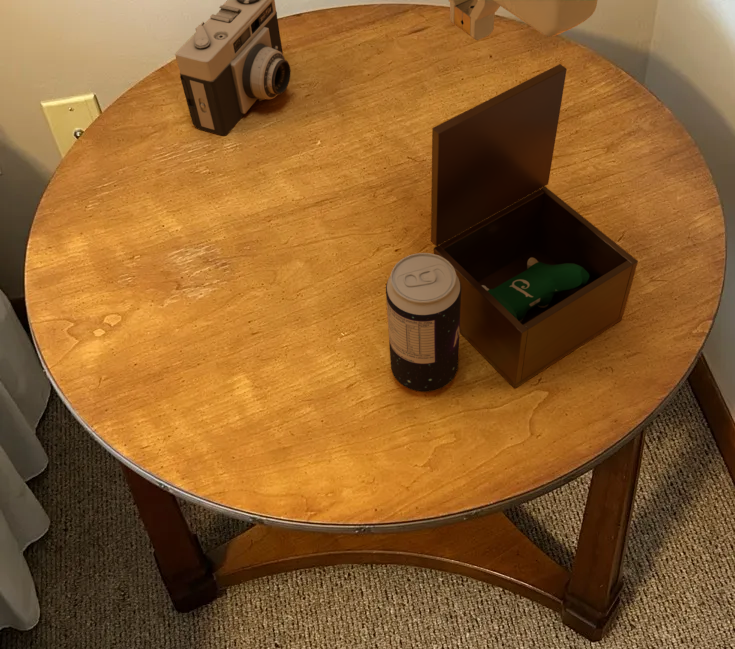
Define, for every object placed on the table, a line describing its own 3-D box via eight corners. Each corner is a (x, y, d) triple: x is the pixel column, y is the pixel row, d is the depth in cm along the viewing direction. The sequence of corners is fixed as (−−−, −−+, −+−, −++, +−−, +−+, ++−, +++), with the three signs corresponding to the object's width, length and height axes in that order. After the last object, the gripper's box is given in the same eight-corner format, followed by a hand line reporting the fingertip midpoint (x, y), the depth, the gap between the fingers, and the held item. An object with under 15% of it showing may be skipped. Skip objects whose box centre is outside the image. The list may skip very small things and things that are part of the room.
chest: (622, 319, 76) (638, 260, 70) (514, 388, 72) (521, 333, 66) (536, 245, 82) (544, 185, 76) (433, 305, 78) (433, 247, 72)
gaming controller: (594, 303, 75) (548, 275, 79) (591, 267, 72) (544, 240, 77) (509, 353, 72) (467, 321, 77) (504, 318, 70) (461, 287, 74)
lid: (567, 68, 66) (560, 63, 66) (438, 133, 62) (431, 127, 62) (548, 184, 75) (542, 179, 76) (436, 246, 72) (430, 241, 72)
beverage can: (464, 391, 72) (469, 299, 63) (397, 403, 72) (392, 311, 62) (449, 338, 76) (452, 243, 66) (385, 349, 75) (379, 255, 66)
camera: (254, 146, 93) (238, 67, 86) (190, 128, 96) (169, 49, 88) (315, 72, 101) (305, -7, 93) (254, 57, 103) (239, -21, 96)
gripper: (644, -130, 48) (604, 80, 59) (422, -236, 59) (423, -42, 69) (558, -93, 46) (533, 118, 57) (344, -210, 57) (358, -15, 68)
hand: (471, 29), depth 63 cm, fingers closed
